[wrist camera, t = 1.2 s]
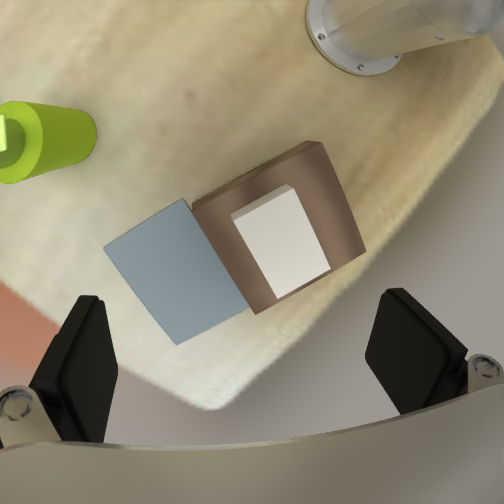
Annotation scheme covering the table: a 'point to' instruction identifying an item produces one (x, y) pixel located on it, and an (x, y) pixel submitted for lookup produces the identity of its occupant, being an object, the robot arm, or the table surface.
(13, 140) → the soap dispenser
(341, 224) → the brown wooden block
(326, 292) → the table surface
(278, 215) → the tile
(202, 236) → the mat
